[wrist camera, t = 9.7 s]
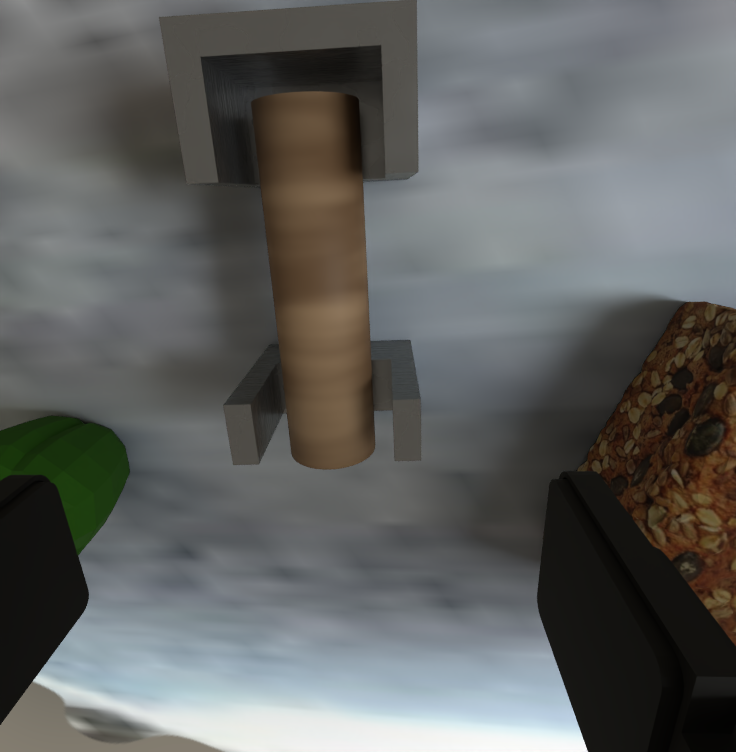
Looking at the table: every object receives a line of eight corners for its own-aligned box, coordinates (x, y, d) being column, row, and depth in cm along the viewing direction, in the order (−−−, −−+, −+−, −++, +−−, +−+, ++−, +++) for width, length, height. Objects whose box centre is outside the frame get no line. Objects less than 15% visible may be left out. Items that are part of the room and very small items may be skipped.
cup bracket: (405, 67, 24) (416, -1, 16) (407, 179, 26) (418, 171, 18) (236, 77, 25) (159, 17, 16) (249, 187, 26) (186, 183, 18)
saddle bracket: (410, 340, 29) (420, 399, 21) (411, 386, 30) (421, 460, 22) (269, 345, 30) (223, 405, 21) (274, 390, 31) (233, 465, 22)
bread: (655, 578, 35) (753, 718, 26) (523, 530, 34) (576, 658, 25) (833, 351, 29) (1049, 426, 19) (679, 283, 28) (828, 329, 18)
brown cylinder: (271, 114, 22) (233, 97, 18) (366, 107, 22) (348, 87, 18) (303, 427, 28) (280, 467, 24) (379, 429, 27) (368, 471, 23)
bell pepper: (167, 492, 34) (84, 607, 24) (60, 512, 35) (-60, 631, 25) (119, 382, 31) (4, 464, 22) (4, 407, 32) (-155, 496, 22)
